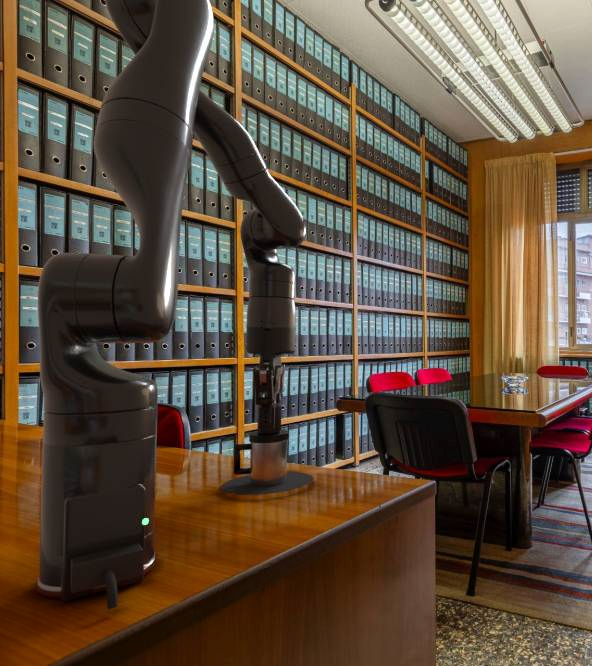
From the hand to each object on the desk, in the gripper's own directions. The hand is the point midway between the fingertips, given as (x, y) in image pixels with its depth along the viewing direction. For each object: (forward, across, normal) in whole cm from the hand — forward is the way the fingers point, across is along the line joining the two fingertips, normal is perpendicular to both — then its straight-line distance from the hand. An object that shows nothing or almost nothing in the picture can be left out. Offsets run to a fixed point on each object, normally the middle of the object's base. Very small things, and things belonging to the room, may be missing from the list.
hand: (269, 427), depth 83 cm
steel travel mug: (+9, 0, -1) cm, 9 cm away
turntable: (+10, 0, 0) cm, 10 cm away
